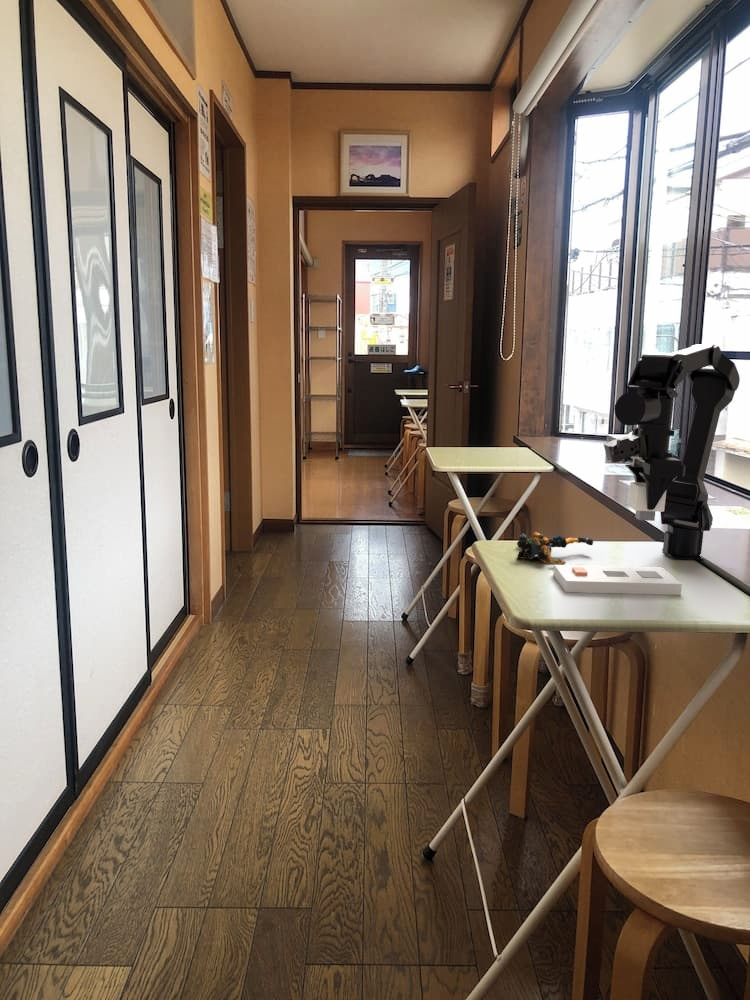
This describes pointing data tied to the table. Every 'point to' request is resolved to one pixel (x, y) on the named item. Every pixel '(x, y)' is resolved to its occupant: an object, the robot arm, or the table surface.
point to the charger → (643, 502)
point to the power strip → (616, 579)
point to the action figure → (545, 546)
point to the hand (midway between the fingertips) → (646, 506)
